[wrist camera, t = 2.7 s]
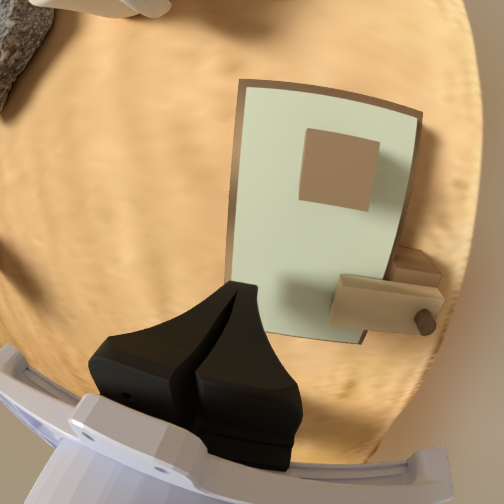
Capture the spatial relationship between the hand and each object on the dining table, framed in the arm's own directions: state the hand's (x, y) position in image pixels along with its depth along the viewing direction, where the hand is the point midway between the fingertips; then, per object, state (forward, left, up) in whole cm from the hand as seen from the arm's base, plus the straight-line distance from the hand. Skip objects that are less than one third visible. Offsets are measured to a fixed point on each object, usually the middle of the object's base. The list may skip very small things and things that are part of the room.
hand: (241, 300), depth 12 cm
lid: (+3, -3, -3) cm, 5 cm away
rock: (+18, +27, -6) cm, 33 cm away
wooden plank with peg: (0, -7, -2) cm, 8 cm away
